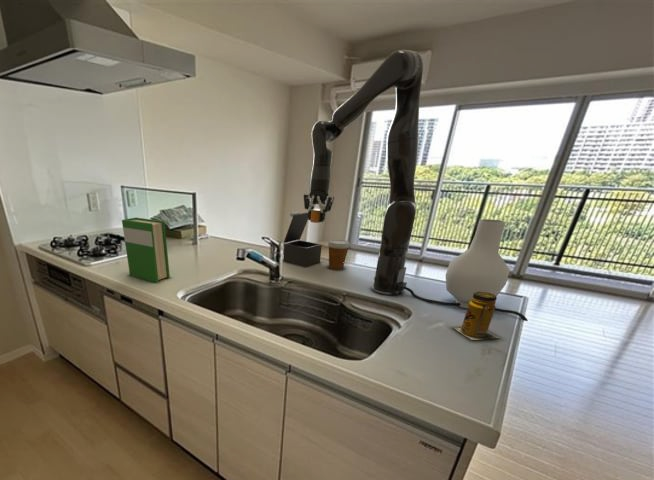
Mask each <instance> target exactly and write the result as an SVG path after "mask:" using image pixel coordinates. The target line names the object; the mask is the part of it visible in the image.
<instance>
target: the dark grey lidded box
mask: <svg viewBox="0 0 654 480" xmlns="http://www.w3.org/2000/svg"><path fill="white" fill-rule="evenodd" d="M283 243H284V242H283ZM322 245H323V244H321V243H317V242H312V241H308V240H301V239H299V240H295V241H291V242H287V243H284V244H283V255H284V259H283V258H282V261H283V262H284V263H289V264H292V265H296V266H299V267H304V268H306V267H309V266H313V265H316V264H319V263H321V258H322V257H321V255H322Z"/></svg>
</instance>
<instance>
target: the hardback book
mask: <svg viewBox="0 0 654 480" xmlns="http://www.w3.org/2000/svg"><path fill="white" fill-rule="evenodd" d="M121 224H122V230H123V238H124V244H125V245H124V246H125V251H126V252H125V253H126V259H127V264H128V272H129V276H130V277H131V276H132V277H134V278H138V279H141V280H145V281H149V282H152V283H157V284H158V283H160V282H159V280H160V281H161V280H162V279H170V278H171V275H170V265H169V254H168V245H167V244H168V243H167V236H166V235H167V233H166V223H165V220H158V219H151V218H150V219H149V218H144V217H131V218H125V219H124V218H123V219H121Z"/></svg>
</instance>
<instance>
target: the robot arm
mask: <svg viewBox="0 0 654 480" xmlns="http://www.w3.org/2000/svg"><path fill="white" fill-rule="evenodd" d="M423 75H424V59H423V56H422V55H421V54H420V53H419V52H418V51H416V50H410V49H408V50H407V49H398V50H394V51H393V52H392V53H390V54H389V55H388V56H387V57H386V58H385V60H383V62H382V63H381V64H380V65H379V66H378V67H377V69H376V70H375V71H374V72H373V74H371V76H370V77H369V78H368V79H367V80H366V81H365V82H364V83H363V84H362V85H361V86H360V88H358V90H356V92H355V93H354V94H352V95H351V96H350V97H349V98H347V100H346V101H344V103H342V104H341V105H340V106H338V108H336V110H334V112H333V114H332V118H331V119H332V120H318V121H316V122H315V124H314V125H313V127H312V129H311V144H312V150H313V161H312V163H313V164H312V169H311V173H310V174H311V175H310V184H309V185H310V186H309V190H310V192H309V193H305V194H303V206H304V209H305V210H307V212H308V221H310V219H311V210H310V209H315V207H316V206H317V205H318V207H319V209H320V210H321V213H320V219H319V222H320V223H323V222H324V221H325V220H326V213H327V212H330V211H331V210H332V207H333V203H334V200H335V196H331V195H329V190H330V184H331V183H330V182H331V174H332V160H333V151H332V149H330V148H328V146H327V143H331V142H334V141H336V140H337V139H338V138H340V136H341V135H342V133H343V132H344V131H345V130H346V128H347V127H349V126H350V125H352V124H353V123H354V122H355V121H357V120H358V119H359V118H360V117H361V116H362V115H363V114H364V113H365V112H366V111H367V109H368V107H369V106H370V104H371V103H372V102H373V101H374V100H375V99H376V98H378V97H379V96H380V95H382V94H384V93H385V92H386V91H388V90H391V89H395V109H394V114H393V117H392V120H391V122H390V126H389V128H388V131H387V135H386V167H387V172H388V178H389V201H388V206H387V208H386V210H385V213H384V217H383V218H384V219H383V225H382V230H381V240H380V246H379V250H378V251H379V252H378V258H377V263H376V267H375V273H374V277H373V285H372V291H373V292H375V293H377V294H380V295H386V296H387V295H389V296H396V295H398V294H399V293H403V291H407V292H409V293H410V294H411V296H412V297H414V298H415V299H418V300H420V301H422V302H423V301H424V302H427V303H432V304H437V305H443V306H456V307H460V303H456V302H448V301H440V300H435V299H430V298H429V299H428V298H424V297H421V296H419V295H417V294H415V293H414V290H413V289H411V288H409V287H407V282H405V276H406V272H407V267H406V266H405V265H406V261H407V255H408V252H409V247H410V242H411V239H412V233H413V228H414V223H415V219H416V214H417V205H416V204H417V203H416V196H415V176H416V170H417V163H418V154H419V121H420V99H421V98H420V97H421V89H422V84H423V83H422V81H423ZM494 312H499V313H504V314H505V313H506V314H512V315H516V316H518V317H520V318H521V319H522V321H524V322H529V321H528V318H527V317H526V316H525V315H524V314H523V313H521V312H520V311H519V312H518V311H516V310H511V309H503V308H498V307H495V311H494Z"/></svg>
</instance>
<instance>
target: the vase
mask: <svg viewBox="0 0 654 480" xmlns="http://www.w3.org/2000/svg"><path fill="white" fill-rule="evenodd" d="M505 227H506V221H505V220H501V219H491V218H489V219H488V218H481V219H479V220H478V225H477V227H476V230H475V234H474V236H473V239H472V240H471V243H470V246H469V248H468V249H467V250H465V251H464V252H462V253H461V254H459V255H458V256H456V257H454V258H452V260H449V264H448V267H447V270H446V272H445V288H446V289H445V290H446V292H448V293H449V294H450V295H451V296H452V297H453V298H455V303H460V306H459V307H460V308H462V309H463V308H464V309H467V308H468V305H469V302H470V301H472V298H473V294H474V293H475V292H486V293H491V294H493V295H495V296H496V298H498V295H500V293H501V292H502V291H503V289H504V288H505V286H506V285H507V281H508V278H509V274H510V271H511V270H510V267H509V266H508V264H507V263H506V262H505V260H504V259H503V257H502V255H501V254H500V253H499V252H500V246H501V239H502V235H503V232H504V229H505Z"/></svg>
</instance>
